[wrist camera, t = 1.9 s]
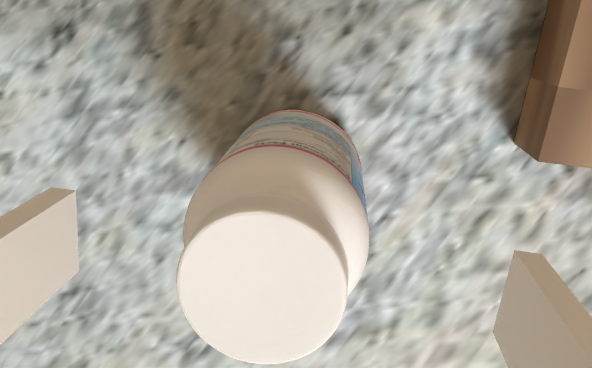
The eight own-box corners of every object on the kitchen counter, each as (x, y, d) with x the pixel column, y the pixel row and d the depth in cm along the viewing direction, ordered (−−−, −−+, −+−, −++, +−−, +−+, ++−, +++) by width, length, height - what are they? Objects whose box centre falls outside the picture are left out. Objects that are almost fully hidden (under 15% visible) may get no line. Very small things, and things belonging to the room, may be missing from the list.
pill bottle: (324, 249, 25) (312, 421, 15) (212, 195, 25) (115, 331, 14) (385, 143, 23) (421, 252, 13) (265, 82, 23) (197, 142, 12)
